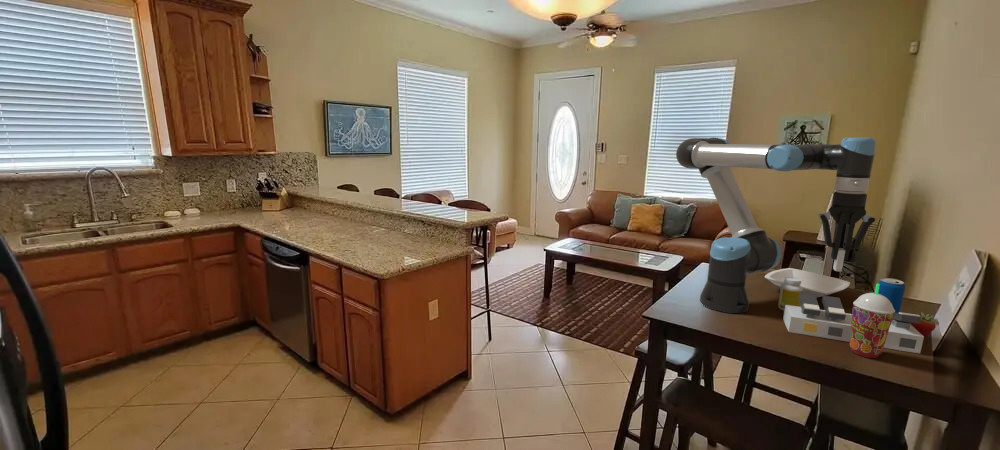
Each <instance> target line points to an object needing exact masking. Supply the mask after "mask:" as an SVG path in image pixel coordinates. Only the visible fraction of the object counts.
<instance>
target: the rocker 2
mask: <svg viewBox="0 0 1000 450" xmlns="http://www.w3.org/2000/svg"><path fill="white" fill-rule="evenodd" d="M821 302H822V304H823V308H824V309H823V310H825V312H826V315H827V318H833V319H839V320H845V317H846V314H845V313H846V312H845V309H844V307H843V303H842V302H841V298H840V297H836V296H829V295H827V296H822V298H821Z"/></svg>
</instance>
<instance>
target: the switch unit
mask: <svg viewBox="0 0 1000 450" xmlns="http://www.w3.org/2000/svg"><path fill="white" fill-rule="evenodd" d="M845 314H846V317H845V320H839V319H833V318H827V315H826V312H825V309H820V315H819V316H815V315H808V314H803V313H802V309H801V306H800V307H798V306H791V305H785V310H784V311H783V316H782V317H783V319H782V320H783V323H784V324H785V327H786V329H787V331H788V332H789V333H793V334H800V335H803V336H804V335H805V336H811V337H817V338H824V339H829V340H834V341H842V342H847V343H849V342H850V332H851V322H852V313H846V312H845ZM924 339H925V338H924V336H923V335H921V334H920V333H919V332H918V331H917V330H916V329H915V328H914V327H913V326H912V325H911V324H910V322H906V321H900V320H895V319H892V321H891V325H890V328H889V331H888V335H887V338H886V341H885V344H884V348H883V349H888V350H889V349H890V350H896V351H901V352H908V353H914V354H921V351H922V348H923V343H924Z"/></svg>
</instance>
